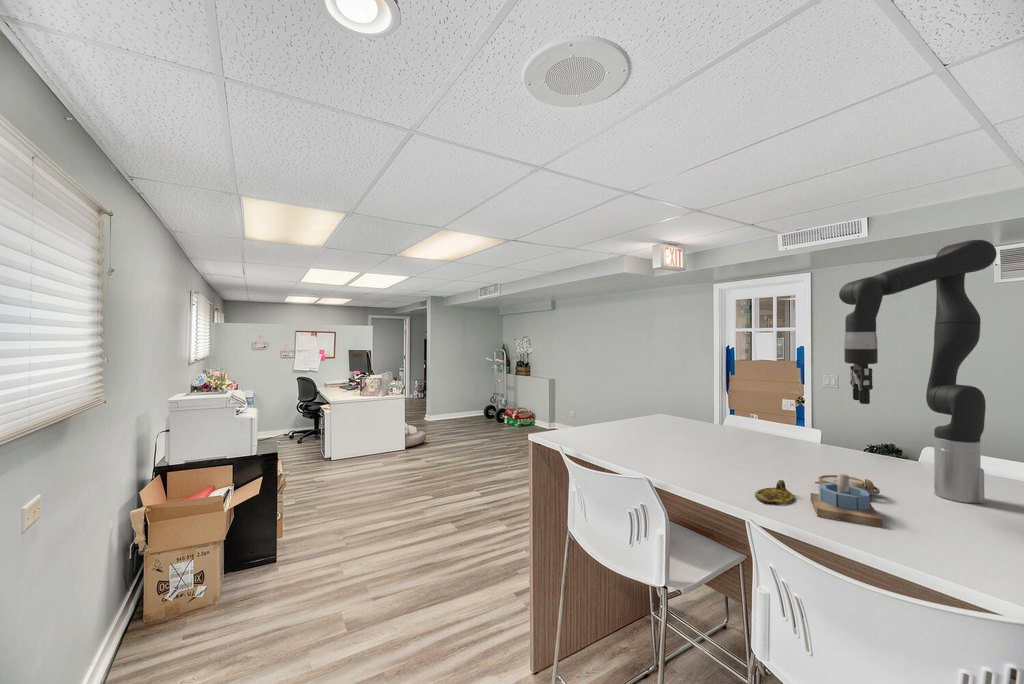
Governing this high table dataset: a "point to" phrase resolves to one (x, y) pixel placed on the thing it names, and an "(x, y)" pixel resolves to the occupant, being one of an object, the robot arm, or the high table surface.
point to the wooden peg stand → (845, 514)
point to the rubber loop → (844, 497)
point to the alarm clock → (851, 483)
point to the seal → (775, 494)
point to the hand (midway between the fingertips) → (860, 401)
